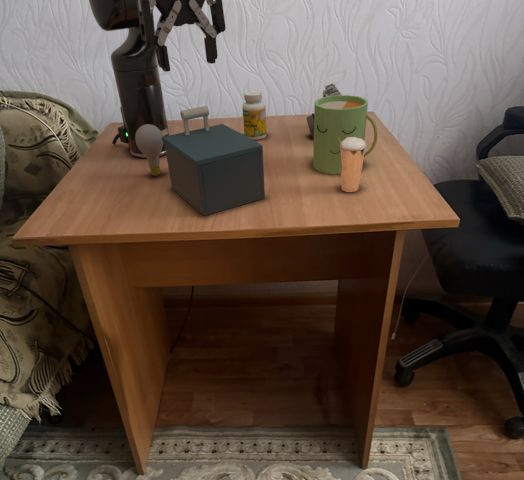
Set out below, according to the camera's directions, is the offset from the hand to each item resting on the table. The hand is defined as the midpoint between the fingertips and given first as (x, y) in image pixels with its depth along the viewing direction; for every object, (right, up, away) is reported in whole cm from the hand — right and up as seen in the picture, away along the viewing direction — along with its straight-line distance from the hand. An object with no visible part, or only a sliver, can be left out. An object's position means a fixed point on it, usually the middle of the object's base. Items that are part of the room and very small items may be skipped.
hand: (189, 66), depth 84 cm
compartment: (+4, -19, +9) cm, 21 cm away
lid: (+3, -12, +3) cm, 13 cm away
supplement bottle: (+11, +2, +33) cm, 35 cm away
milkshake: (+29, -19, +8) cm, 35 cm away
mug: (+29, -11, +17) cm, 36 cm away
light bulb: (-9, -13, +17) cm, 23 cm away
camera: (+28, +2, +32) cm, 42 cm away
